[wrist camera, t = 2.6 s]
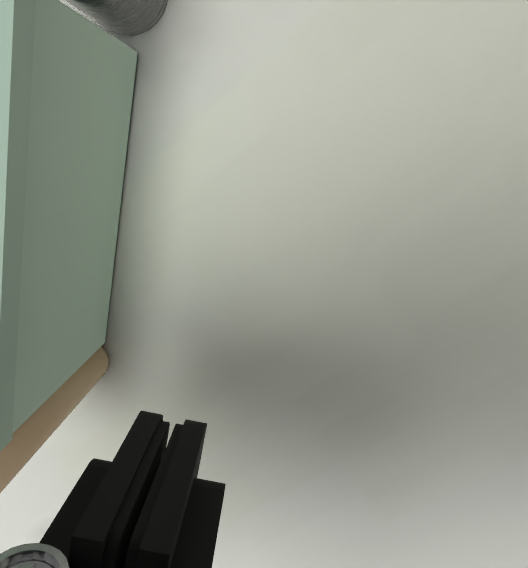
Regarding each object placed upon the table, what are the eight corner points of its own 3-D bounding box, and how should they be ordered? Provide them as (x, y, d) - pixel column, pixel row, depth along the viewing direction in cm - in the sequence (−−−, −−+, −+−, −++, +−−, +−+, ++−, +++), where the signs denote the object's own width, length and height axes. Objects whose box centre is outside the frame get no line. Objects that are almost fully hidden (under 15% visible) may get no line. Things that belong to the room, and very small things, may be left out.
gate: (90, 41, 17) (-95, -59, 9) (144, 53, 17) (8, -38, 9) (61, 375, 20) (-87, 514, 13) (105, 385, 20) (-15, 530, 13)
